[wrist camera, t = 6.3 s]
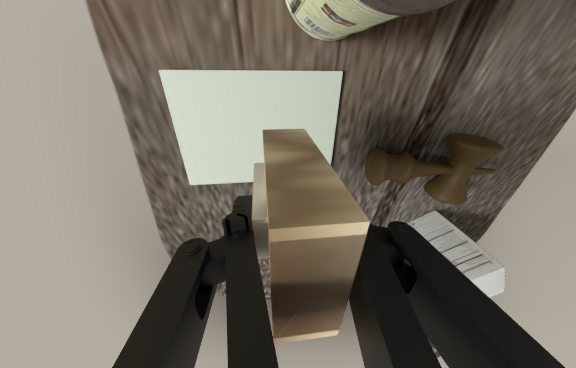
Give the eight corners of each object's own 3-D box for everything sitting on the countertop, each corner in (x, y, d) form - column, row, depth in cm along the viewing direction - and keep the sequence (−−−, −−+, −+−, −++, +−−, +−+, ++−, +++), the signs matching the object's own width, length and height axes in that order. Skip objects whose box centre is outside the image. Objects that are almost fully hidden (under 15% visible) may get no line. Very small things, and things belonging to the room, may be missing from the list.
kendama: (371, 126, 28) (496, 133, 31) (354, 184, 34) (462, 187, 36) (394, 141, 23) (541, 149, 26) (369, 207, 28) (494, 208, 31)
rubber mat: (341, 71, 24) (342, 71, 23) (328, 176, 31) (329, 177, 31) (160, 69, 22) (158, 69, 21) (191, 183, 29) (190, 185, 28)
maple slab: (305, 128, 15) (370, 221, 6) (300, 207, 18) (337, 334, 10) (262, 129, 14) (268, 229, 6) (266, 209, 18) (273, 344, 9)
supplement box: (441, 232, 41) (506, 292, 30) (406, 248, 42) (456, 311, 31) (436, 208, 37) (508, 266, 27) (397, 226, 39) (451, 289, 28)
